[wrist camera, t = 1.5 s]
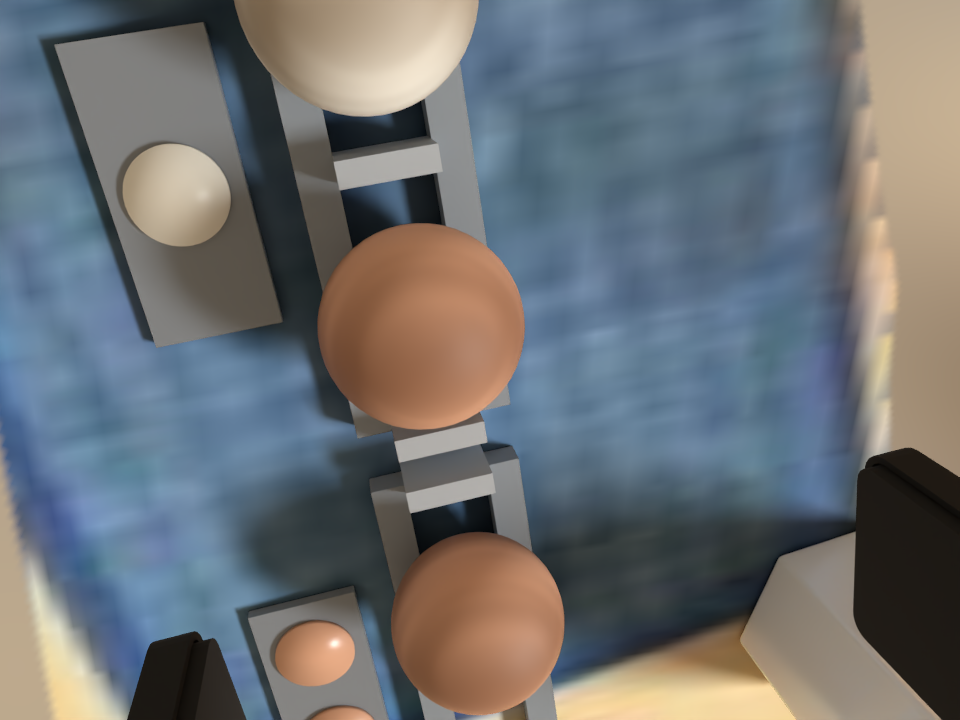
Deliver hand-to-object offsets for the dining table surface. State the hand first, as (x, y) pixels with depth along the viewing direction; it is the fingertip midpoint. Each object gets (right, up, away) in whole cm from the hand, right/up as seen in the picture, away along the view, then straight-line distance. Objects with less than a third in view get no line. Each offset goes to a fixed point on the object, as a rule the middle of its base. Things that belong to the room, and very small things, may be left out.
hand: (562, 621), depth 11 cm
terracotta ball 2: (-2, -4, +19) cm, 19 cm away
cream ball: (-5, +14, +11) cm, 18 cm away
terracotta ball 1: (-3, +6, +14) cm, 16 cm away
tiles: (-9, 0, +16) cm, 19 cm away
